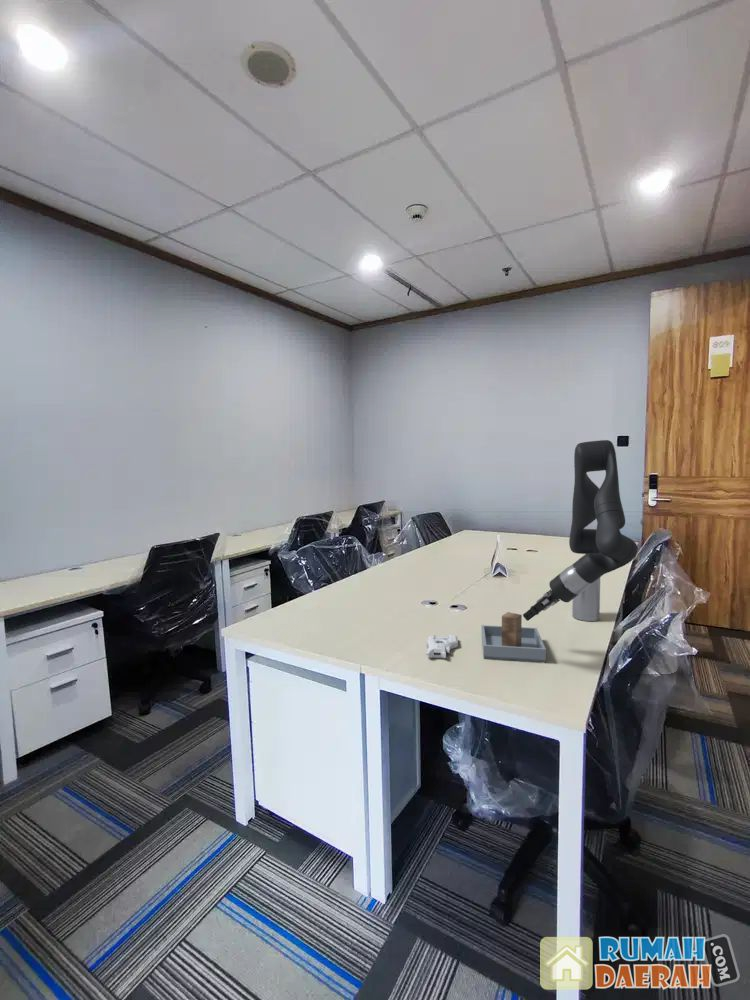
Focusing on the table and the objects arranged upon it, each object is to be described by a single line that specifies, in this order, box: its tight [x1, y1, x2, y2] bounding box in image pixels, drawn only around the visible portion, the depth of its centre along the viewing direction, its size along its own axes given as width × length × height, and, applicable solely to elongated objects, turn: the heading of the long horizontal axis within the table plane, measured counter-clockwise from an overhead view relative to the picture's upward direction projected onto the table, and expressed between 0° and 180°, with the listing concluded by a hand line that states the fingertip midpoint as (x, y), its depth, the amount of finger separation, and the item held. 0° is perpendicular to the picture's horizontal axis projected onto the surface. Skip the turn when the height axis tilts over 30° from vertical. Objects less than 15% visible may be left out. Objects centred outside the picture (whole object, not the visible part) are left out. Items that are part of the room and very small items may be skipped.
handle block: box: [501, 611, 523, 647], centre depth 143 cm, size 4×4×10 cm
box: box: [481, 624, 547, 663], centre depth 143 cm, size 18×18×4 cm
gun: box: [425, 634, 459, 659], centre depth 144 cm, size 18×3×10 cm
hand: (530, 614), depth 139 cm, fingers open, 8 cm apart
